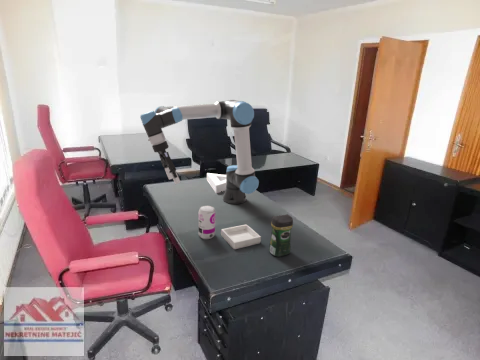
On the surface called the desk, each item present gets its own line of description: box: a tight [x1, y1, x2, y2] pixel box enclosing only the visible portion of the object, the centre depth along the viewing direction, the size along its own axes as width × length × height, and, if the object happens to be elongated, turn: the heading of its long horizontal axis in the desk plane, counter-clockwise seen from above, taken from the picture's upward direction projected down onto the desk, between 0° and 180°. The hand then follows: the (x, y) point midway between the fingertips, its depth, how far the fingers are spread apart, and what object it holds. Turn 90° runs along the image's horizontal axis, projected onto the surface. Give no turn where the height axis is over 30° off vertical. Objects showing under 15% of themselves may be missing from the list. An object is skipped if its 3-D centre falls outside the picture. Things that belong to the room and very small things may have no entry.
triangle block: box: [206, 172, 226, 194], centre depth 224 cm, size 30×26×6 cm
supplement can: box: [198, 205, 216, 240], centre depth 154 cm, size 8×8×15 cm
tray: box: [220, 224, 262, 250], centre depth 154 cm, size 15×15×4 cm
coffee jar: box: [268, 213, 294, 257], centre depth 141 cm, size 10×8×19 cm
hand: (174, 180), depth 161 cm, fingers open, 13 cm apart
